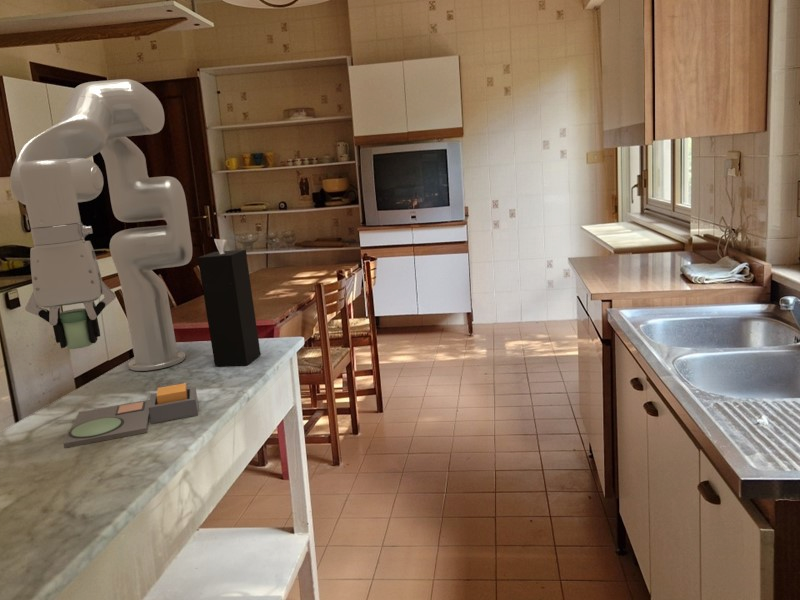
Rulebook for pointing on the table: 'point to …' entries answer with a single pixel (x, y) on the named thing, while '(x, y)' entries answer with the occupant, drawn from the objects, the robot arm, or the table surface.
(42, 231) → the robot arm
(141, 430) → the colouring board
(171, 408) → the button housing
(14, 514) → the table surface
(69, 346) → the green capped cylinder
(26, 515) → the table surface
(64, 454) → the table surface
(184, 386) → the button
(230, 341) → the tissue box
